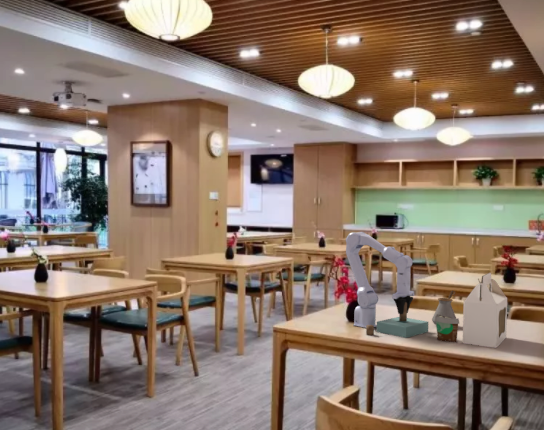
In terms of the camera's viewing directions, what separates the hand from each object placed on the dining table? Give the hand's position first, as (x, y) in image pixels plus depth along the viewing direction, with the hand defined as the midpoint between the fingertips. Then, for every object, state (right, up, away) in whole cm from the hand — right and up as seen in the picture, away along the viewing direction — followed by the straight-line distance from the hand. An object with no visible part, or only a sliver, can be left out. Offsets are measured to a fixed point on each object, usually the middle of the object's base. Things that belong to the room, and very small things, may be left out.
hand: (402, 313), depth 256 cm
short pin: (-16, -8, -7) cm, 19 cm away
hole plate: (0, -8, 0) cm, 8 cm away
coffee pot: (+25, -9, +17) cm, 32 cm away
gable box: (+31, -9, -14) cm, 36 cm away
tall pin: (0, -3, 0) cm, 3 cm away
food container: (+14, -9, -14) cm, 22 cm away
